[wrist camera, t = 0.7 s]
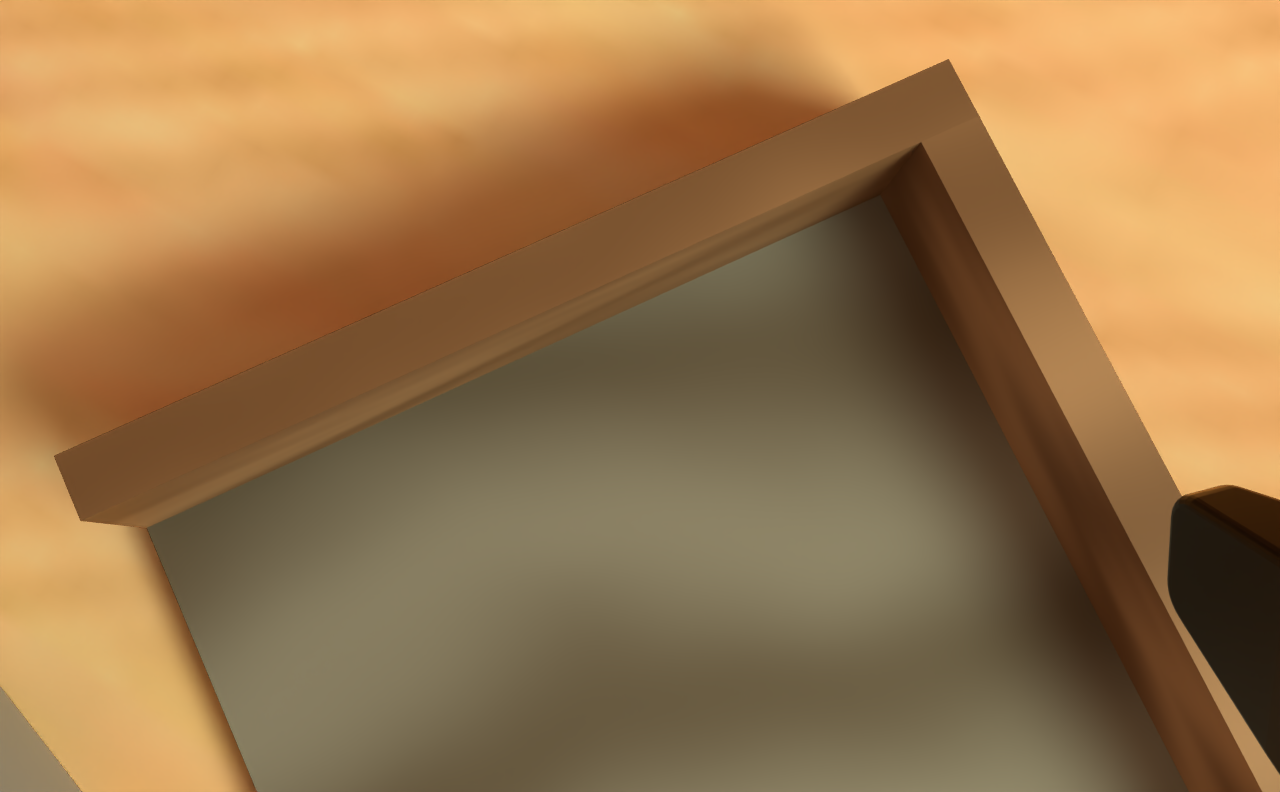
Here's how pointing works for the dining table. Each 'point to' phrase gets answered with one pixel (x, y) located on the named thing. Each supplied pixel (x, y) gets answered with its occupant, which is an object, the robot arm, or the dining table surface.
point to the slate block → (27, 756)
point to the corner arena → (700, 506)
